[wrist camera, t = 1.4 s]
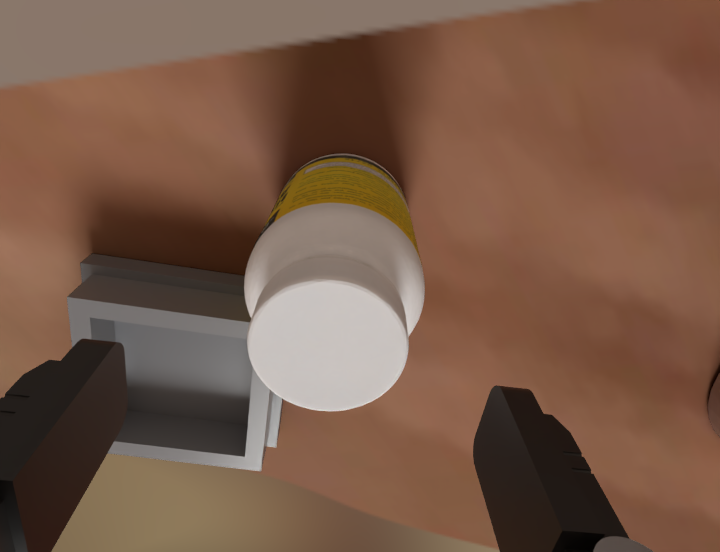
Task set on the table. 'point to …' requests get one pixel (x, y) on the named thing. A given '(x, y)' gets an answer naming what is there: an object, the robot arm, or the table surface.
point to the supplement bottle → (334, 286)
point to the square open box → (179, 361)
